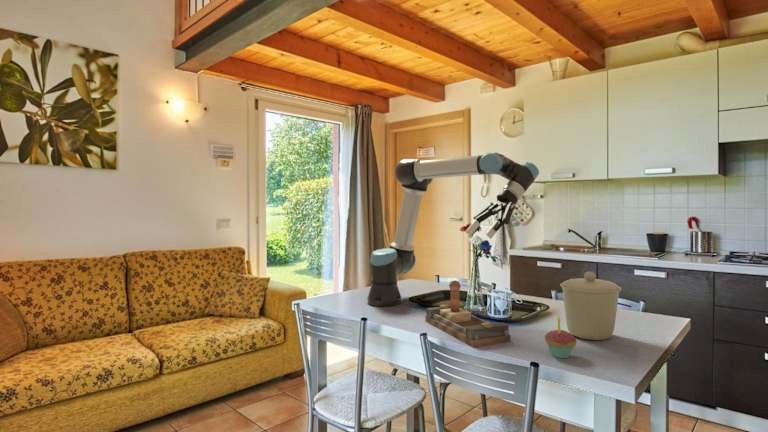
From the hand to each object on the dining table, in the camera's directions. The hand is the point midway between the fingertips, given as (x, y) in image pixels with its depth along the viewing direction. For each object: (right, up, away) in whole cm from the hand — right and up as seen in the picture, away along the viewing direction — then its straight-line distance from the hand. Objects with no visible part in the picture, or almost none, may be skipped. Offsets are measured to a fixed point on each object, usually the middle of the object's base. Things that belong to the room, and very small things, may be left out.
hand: (477, 235), depth 166 cm
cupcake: (+15, -33, -40) cm, 54 cm away
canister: (+32, -32, -23) cm, 51 cm away
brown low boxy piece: (-8, -32, -15) cm, 36 cm away
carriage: (-10, -30, -9) cm, 33 cm away
